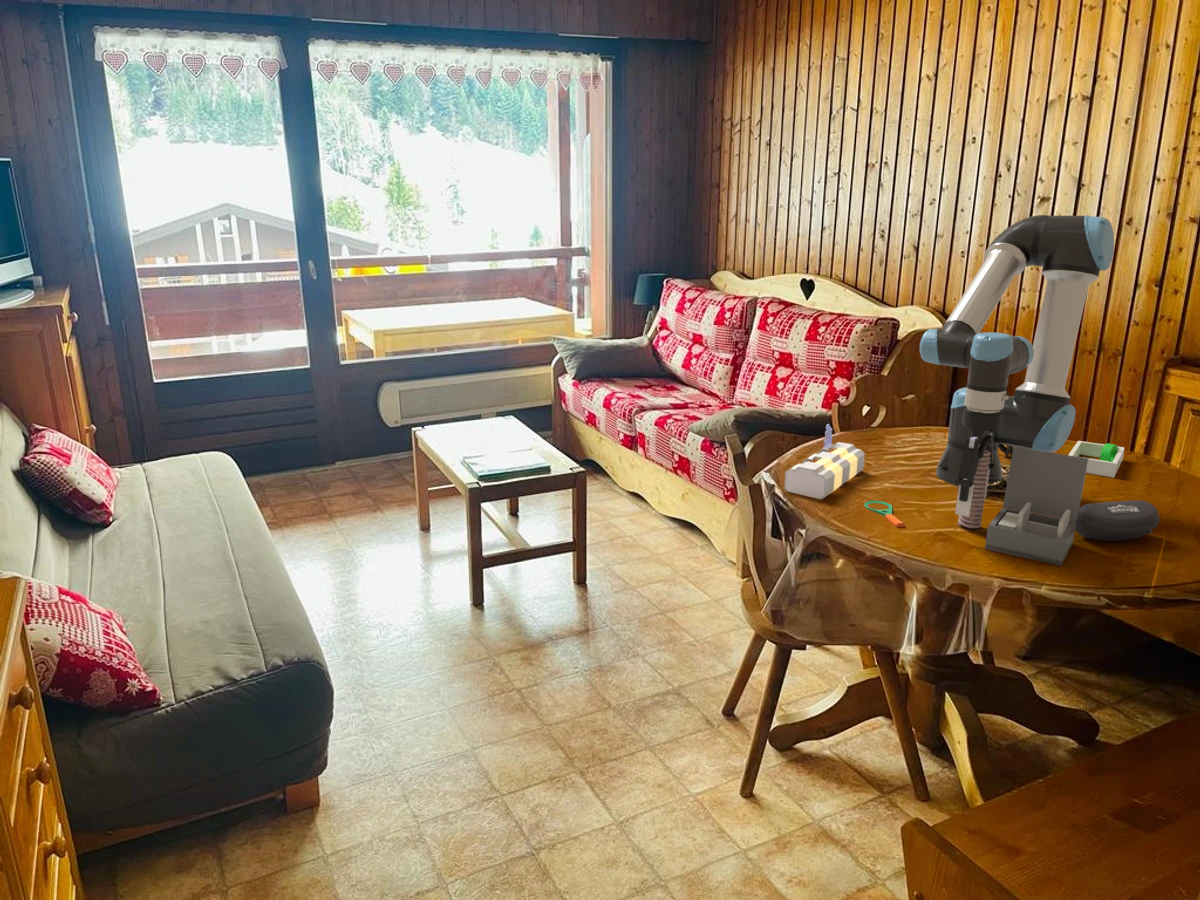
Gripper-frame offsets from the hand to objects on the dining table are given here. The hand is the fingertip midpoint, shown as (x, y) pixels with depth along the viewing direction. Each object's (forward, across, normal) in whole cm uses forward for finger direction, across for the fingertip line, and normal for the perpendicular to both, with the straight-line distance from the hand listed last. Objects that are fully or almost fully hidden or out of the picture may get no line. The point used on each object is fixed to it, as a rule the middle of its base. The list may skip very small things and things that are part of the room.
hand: (970, 505), depth 184 cm
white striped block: (+6, +10, +36) cm, 38 cm away
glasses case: (+6, +13, -25) cm, 29 cm away
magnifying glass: (+6, -2, +17) cm, 18 cm away
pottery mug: (+6, +59, +2) cm, 59 cm away
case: (+5, -2, -12) cm, 14 cm away
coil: (+6, +1, 0) cm, 6 cm away
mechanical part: (+7, +71, -21) cm, 74 cm away
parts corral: (+5, +64, -16) cm, 66 cm away
